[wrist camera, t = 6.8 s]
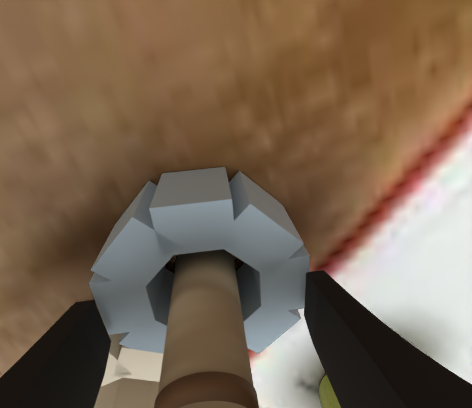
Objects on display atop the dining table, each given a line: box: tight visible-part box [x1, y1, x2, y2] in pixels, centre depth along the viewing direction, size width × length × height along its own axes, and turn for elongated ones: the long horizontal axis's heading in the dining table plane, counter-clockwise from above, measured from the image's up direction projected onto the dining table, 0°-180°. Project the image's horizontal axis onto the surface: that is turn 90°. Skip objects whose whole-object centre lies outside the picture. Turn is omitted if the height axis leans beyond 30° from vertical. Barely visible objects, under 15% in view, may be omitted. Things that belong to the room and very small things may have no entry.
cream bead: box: [94, 309, 163, 408], centre depth 14 cm, size 8×8×3 cm
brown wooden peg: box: [154, 249, 259, 408], centre depth 9 cm, size 2×2×8 cm
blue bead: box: [89, 167, 310, 354], centre depth 12 cm, size 8×8×3 cm
